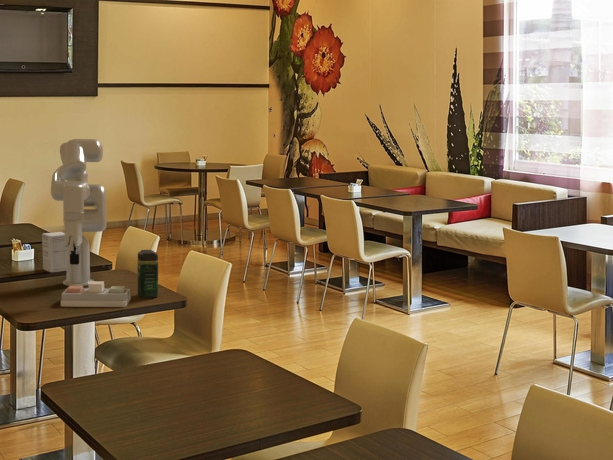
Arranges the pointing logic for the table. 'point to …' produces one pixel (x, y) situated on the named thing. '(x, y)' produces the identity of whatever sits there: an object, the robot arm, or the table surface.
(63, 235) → the supplement box
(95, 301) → the keypad
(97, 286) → the cream key
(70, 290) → the terracotta key
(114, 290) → the sage key
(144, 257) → the coffee jar
